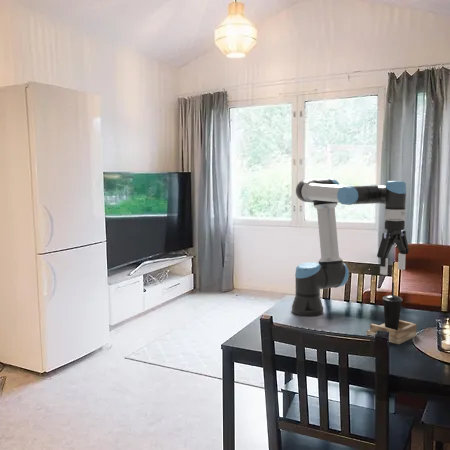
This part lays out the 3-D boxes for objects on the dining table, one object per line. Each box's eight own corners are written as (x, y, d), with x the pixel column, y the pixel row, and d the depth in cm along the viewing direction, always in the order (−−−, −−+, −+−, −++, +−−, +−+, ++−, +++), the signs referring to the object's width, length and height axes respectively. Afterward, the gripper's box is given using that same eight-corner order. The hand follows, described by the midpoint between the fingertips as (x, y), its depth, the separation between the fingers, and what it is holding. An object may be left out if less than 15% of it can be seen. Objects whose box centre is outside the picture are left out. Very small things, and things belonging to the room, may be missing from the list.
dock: (366, 335, 187) (367, 323, 186) (385, 327, 196) (385, 316, 195) (398, 344, 176) (398, 332, 175) (416, 336, 185) (416, 324, 184)
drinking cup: (403, 334, 181) (404, 285, 179) (383, 333, 183) (384, 284, 180) (399, 328, 189) (401, 281, 186) (380, 327, 190) (381, 280, 188)
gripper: (386, 223, 170) (384, 278, 172) (419, 218, 186) (416, 268, 188) (368, 221, 175) (367, 275, 178) (401, 216, 191) (399, 266, 194)
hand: (392, 271), depth 183 cm, fingers open, 13 cm apart
